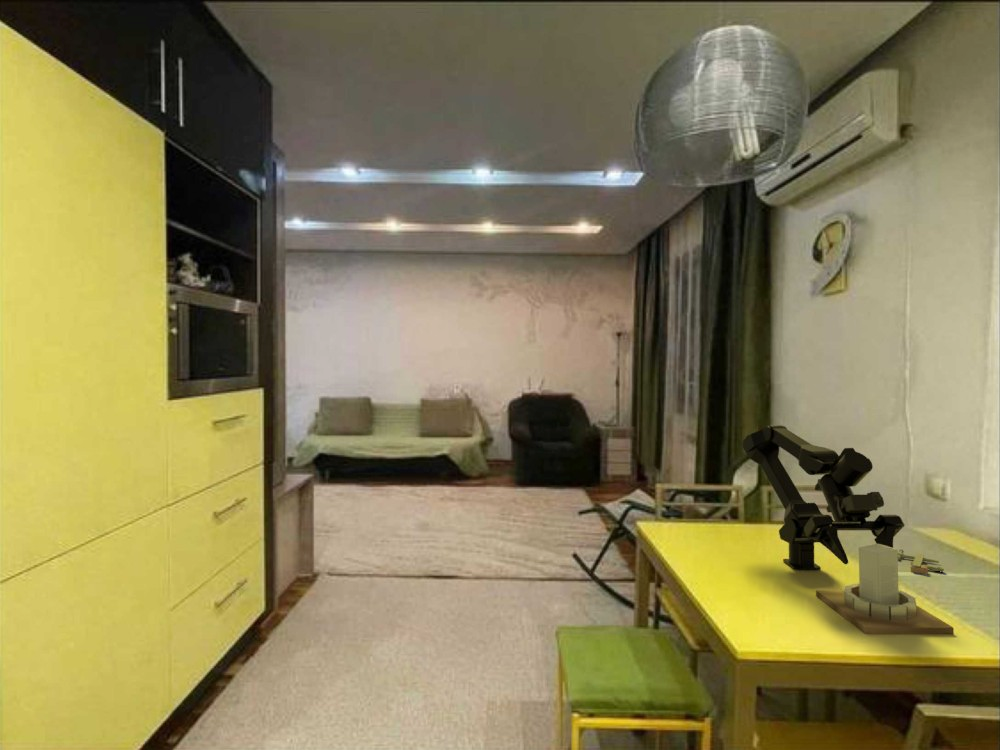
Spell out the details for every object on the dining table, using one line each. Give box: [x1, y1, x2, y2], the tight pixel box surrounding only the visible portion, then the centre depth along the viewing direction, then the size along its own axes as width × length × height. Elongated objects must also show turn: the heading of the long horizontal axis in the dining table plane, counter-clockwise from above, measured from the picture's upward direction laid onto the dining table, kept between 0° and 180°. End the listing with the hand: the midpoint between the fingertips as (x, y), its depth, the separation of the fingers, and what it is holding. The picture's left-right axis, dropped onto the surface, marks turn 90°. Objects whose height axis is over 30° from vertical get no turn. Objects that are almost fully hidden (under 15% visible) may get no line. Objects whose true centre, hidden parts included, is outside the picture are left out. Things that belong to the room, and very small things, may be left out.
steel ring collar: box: [843, 583, 917, 620], centre depth 116 cm, size 12×12×2 cm
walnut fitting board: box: [815, 589, 955, 635], centre depth 116 cm, size 18×16×1 cm
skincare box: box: [858, 543, 899, 605], centre depth 116 cm, size 6×4×12 cm
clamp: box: [898, 548, 945, 575], centre depth 143 cm, size 15×2×10 cm
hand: (869, 563), depth 119 cm, fingers open, 9 cm apart
